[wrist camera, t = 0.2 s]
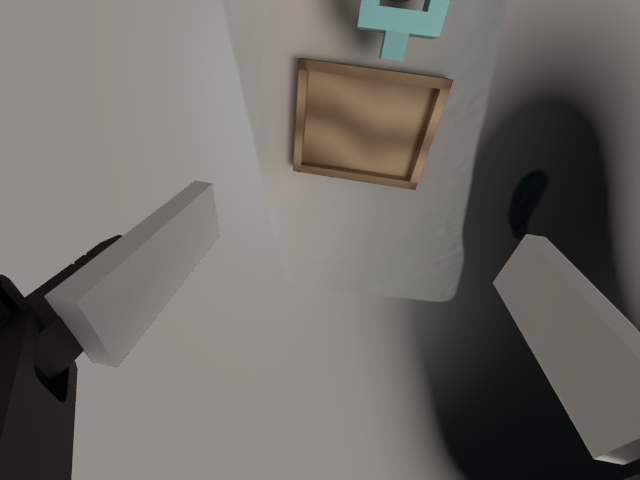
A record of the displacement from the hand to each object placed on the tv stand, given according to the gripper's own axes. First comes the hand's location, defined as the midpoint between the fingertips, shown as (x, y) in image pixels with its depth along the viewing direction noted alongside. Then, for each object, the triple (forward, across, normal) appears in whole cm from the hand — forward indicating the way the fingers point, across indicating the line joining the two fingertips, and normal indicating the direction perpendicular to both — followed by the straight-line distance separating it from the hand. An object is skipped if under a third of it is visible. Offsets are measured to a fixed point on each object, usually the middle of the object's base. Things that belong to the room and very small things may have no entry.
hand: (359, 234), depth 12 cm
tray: (+28, +1, -1) cm, 28 cm away
